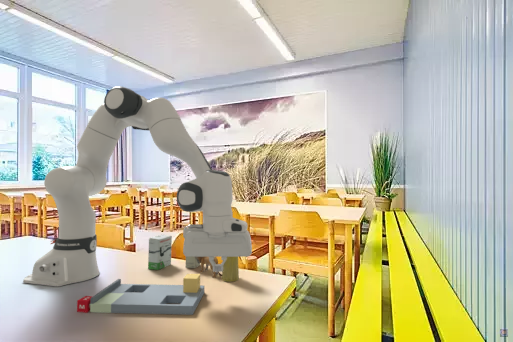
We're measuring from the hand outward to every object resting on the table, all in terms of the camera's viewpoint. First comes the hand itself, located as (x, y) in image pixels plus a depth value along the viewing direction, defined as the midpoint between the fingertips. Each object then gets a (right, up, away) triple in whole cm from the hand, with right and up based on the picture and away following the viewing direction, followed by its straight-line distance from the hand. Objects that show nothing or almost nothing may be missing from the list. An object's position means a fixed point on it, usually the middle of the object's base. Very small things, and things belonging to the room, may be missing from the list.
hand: (218, 271), depth 84 cm
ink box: (-27, -9, +28) cm, 40 cm away
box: (-14, -9, +29) cm, 33 cm away
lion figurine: (-7, -9, +21) cm, 24 cm away
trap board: (-18, -8, -3) cm, 20 cm away
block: (-8, -6, 0) cm, 9 cm away
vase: (+2, -8, +15) cm, 17 cm away
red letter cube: (-34, -8, -8) cm, 36 cm away
